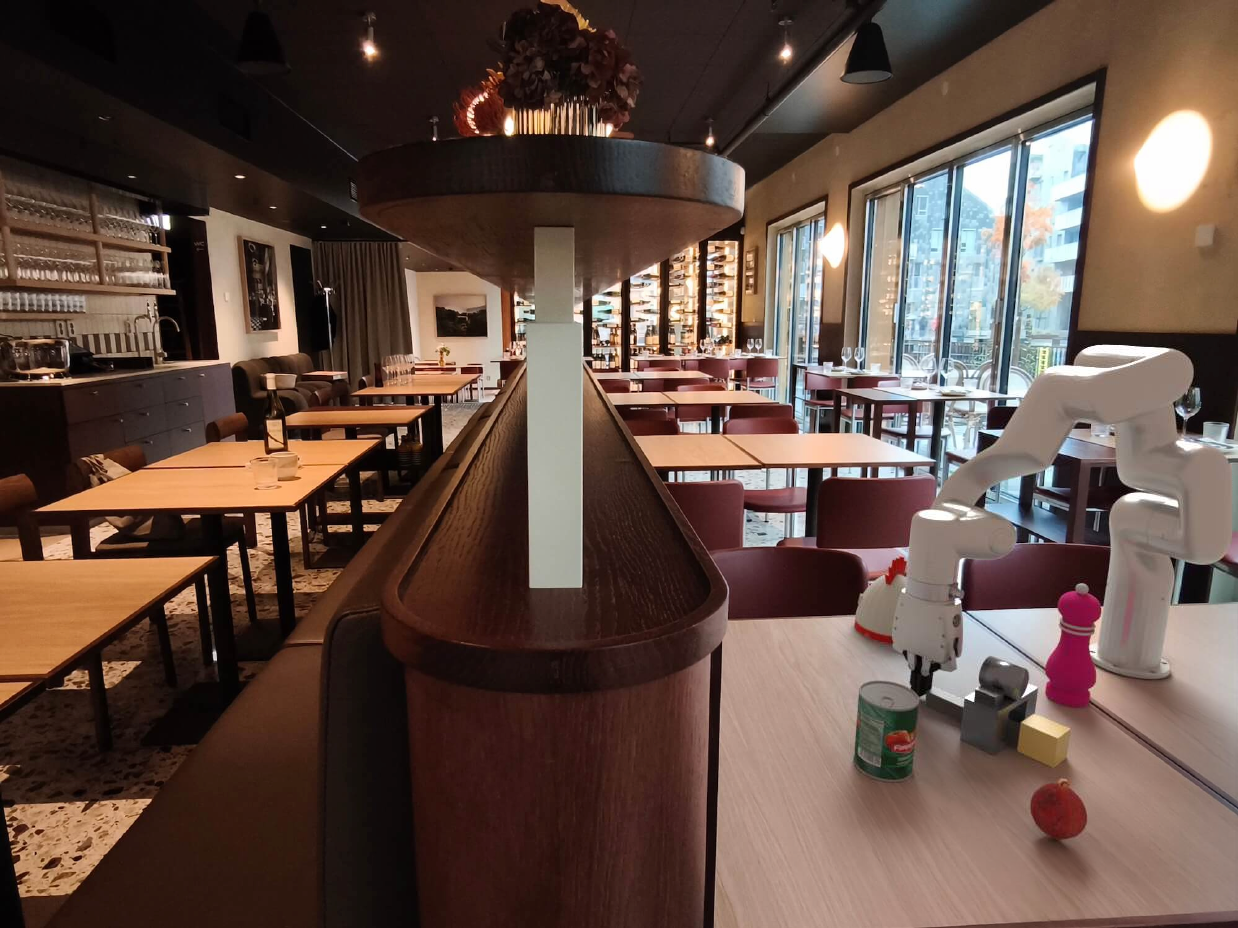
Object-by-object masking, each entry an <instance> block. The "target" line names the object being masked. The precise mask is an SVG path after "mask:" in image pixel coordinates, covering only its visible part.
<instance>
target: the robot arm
mask: <svg viewBox="0 0 1238 928" xmlns="http://www.w3.org/2000/svg"><path fill="white" fill-rule="evenodd" d="M1074 358H1075V359H1074V361H1073V365H1056V366H1050V367H1047V368H1046V369H1043V370H1042V371H1040V373H1039V374H1038V375H1037V376H1036V377H1035V378H1034V380H1033V381H1032V383H1031V384H1030V387H1029V388H1028V390H1027V391H1026V393H1025V395H1024V396H1023V398H1022V399H1021V401H1020V403H1019V405H1018V407H1017V408H1016V409H1015V411H1014V413H1013V414H1012V416H1011V418H1010V420H1009V421H1008V423H1007V425H1006V426H1005V428H1004V429H1003V431H1002V432H1001V435H1000V436H999V438H998V439H997V440H996V441H995V442H994V443H993V444H992V445H991V446H989V447H987V448H986V449H984V450H983V451H980V452H979V453H977V454H975V456H973V457H971V458H970V459H968V460H967V461H966V462H965V463H963V464H962V465H961V466H959V467H958V468H956V469H955V470H954V471H953V472H952V473H951V475H950V476H949V477H948V478H947V479H946V481H945V482H944V484H943V485H942V487H941V488H940V491H939V492H938V494H937V495H936V497H935V499H934V500H933V502H932V505H931V506H930V509H922V510H919V511H917V512H915V513H914V515H913V516H912V518H911V523H910V535H909V544H908V545H909V546H908V554H907V555H908V556H907V564H906V576H905V577H906V585H905V588H904V589H902V591H901V594H900V597H899V600H898V603H897V607H896V611H895V616H894V622H893V629H892V640H893V644H892V648H893V649H894V650H895V651H897V652H898V653H900V655H901V654H902V656H903V657H904V659H905V661H906V662H907V668H908V669H909V671H910V677H909V685H910V689H911V690H913V691H914V692H915V693H916V694H917V695H918V697H919V698H921V697H924V696H926V691H927V690H929V689H931V688H933V681H934V679H933V678H934V673H936V672H937V671H942V672H948V673H952V672H954V671H956V670H957V668H958V666H957V659H959V658H961V656H962V652H963V644H964V618H963V617H964V616H963V607H962V601H961V600H962V599H963V598H964V597H965V591H964V590H963V589H960V588H959V582H958V579H959V571H960V561H961V560H962V559H969V560H977V561H994V560H998V559H1001V558H1003V557H1005V556H1007V555H1008V554H1010V553H1011V552H1012V551H1013V549H1014V547H1015V546H1016V544H1017V540H1018V534H1017V531H1016V527H1015V526H1014V525H1013V523H1012V522H1011V521H1010V520H1009V519H1007V517H1005V516H1002V515H1000V514H998V513H995V512H993V511H989V510H988V509H983V508H982V507H978V506H975V504H976V503H977V501H978V500H979V499H980V498H981V497H982V496H983V494H985V493H986V492H987V491H988V490H990V489H991V488H992V487H995V486H996V485H998V484H999V483H1002V482H1005V481H1009V480H1012V479H1016V478H1020V477H1025V476H1029V475H1034V474H1037V473H1040V472H1044V471H1047V469H1049V468H1050V467H1051V466H1052V464H1053V463H1054V460H1055V459H1056V458H1057V456H1058V454H1059V452H1060V451H1061V449H1062V448H1063V446H1064V445H1065V443H1066V441H1067V439H1068V438H1069V436H1070V434H1071V433H1072V431H1073V430H1074V429H1075V426H1076V425H1077V424H1078V423H1085V424H1093V425H1097V426H1111V425H1113V429H1114V445H1115V446H1114V447H1115V463H1116V470H1117V475H1118V478H1119V480H1120V481H1121V483H1122V484H1124V485H1125V486H1127V487H1129V488H1132V489H1136V490H1139V491H1142V492H1131V493H1127V494H1125V495H1122V496H1121V497H1120V498H1118V499H1117V500H1116V501H1115V503H1113V504H1112V507H1111V509H1110V512H1109V519H1108V520H1109V521H1108V525H1109V536H1110V556H1109V558H1110V559H1109V567H1108V574H1107V580H1106V587H1105V594H1104V600H1103V609H1102V612H1101V620H1100V622H1101V623H1100V628H1099V629H1100V630H1099V635H1098V642H1096V643H1092V644H1090V645H1089V649H1090V655H1091V658H1092V661H1093V664H1094V665H1096V666H1098V667H1100V668H1102V669H1104V670H1106V671H1109V672H1112V673H1115V674H1117V675H1121V676H1125V677H1129V678H1135V679H1140V680H1141V679H1142V680H1143V679H1144V680H1158V679H1159V680H1161V679H1165V678H1166V677H1168V676H1169V675H1170V673H1171V670H1172V667H1171V664H1170V663H1169V661H1167V660H1166V659H1165V658H1163V657H1162V656H1163V650H1164V646H1165V645H1164V643H1165V637H1166V631H1167V626H1168V619H1169V613H1170V607H1171V602H1172V596H1173V591H1174V585H1175V584H1174V583H1175V569H1174V567H1173V563H1172V560H1171V558H1174V559H1177V560H1180V561H1184V562H1185V563H1186V562H1187V563H1191V564H1194V565H1203V566H1204V565H1205V566H1206V565H1211V564H1214V563H1217V562H1218V561H1220V560H1221V559H1223V558H1224V556H1225V555H1226V554H1227V552H1228V550H1229V548H1230V546H1231V543H1232V537H1233V527H1234V526H1233V523H1234V521H1233V519H1234V518H1233V514H1234V513H1233V509H1234V508H1233V472H1232V467H1231V464H1230V462H1229V460H1228V458H1227V457H1226V455H1225V454H1224V453H1223V452H1222V451H1221V450H1219V449H1218V448H1216V447H1213V446H1211V445H1207V444H1205V443H1199V442H1193V441H1192V442H1191V441H1189V440H1182V439H1181V438H1180V437H1179V434H1178V430H1177V422H1176V421H1177V420H1176V413H1175V406H1174V403H1175V402H1176V401H1177V400H1179V399H1180V398H1182V397H1183V396H1184V394H1185V393H1187V391H1189V388H1190V387H1191V385H1192V383H1193V378H1194V372H1195V371H1194V365H1193V363H1192V361H1191V359H1190V358H1189V357H1188V355H1186V354H1185V353H1183V352H1182V351H1179V350H1178V349H1177V350H1176V349H1174V348H1166V347H1149V346H1146V347H1145V346H1133V345H1132V346H1131V345H1120V344H1119V345H1116V344H1115V345H1113V344H1111V345H1110V344H1102V345H1100V344H1099V345H1094V346H1089V347H1087V348H1084V349H1082V350H1081V351H1080V352H1079V353H1078V354H1077V355H1076V356H1075V357H1074Z"/></svg>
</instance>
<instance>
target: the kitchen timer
mask: <svg viewBox="0 0 1238 928" xmlns="http://www.w3.org/2000/svg"><path fill="white" fill-rule="evenodd" d="M907 564H908V560H905V556H904V557H903V556H899V557H898V558H897V557H895V559H892V560H891V566H888V567H887V568H888V569H887V570H888V573H885V574H883V575H880V576H879V577H878V578H877V579H875V580H874V581H873V582H872V583H870V585H869V586H868V587H867V588H866V589H865V591H863V593H860V594H859V597H858V601H857V604H858V606H857V609H856V612H855V616H854V617H855V620H854V628H855V630H856V631H857V632H858V634H859V633H860V635H862V636H864V637H866V638H868V639H871V640H873V641H876V642H879V643H883V642H884V643H883V644H888V645H889V644H890V645H893V640H892V629H893V622H894V616H895V611H896V607H897V603H898V600H899V597H900V594H901V591H902V589H904V588H905V585H906V576H905V572H906V569H907Z"/></svg>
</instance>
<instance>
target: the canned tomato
mask: <svg viewBox="0 0 1238 928" xmlns="http://www.w3.org/2000/svg"><path fill="white" fill-rule="evenodd" d="M857 699H858V700H857V713H856V726H855V727H856V728H855V737H854V739H855V740H854V754H853V763H854V765H855V767H856V769H858V771H859V772H861V773H862V774H863V775H865V776H867V777H868V778H871V779H874V780H876V781H880V782H884V783H900V782H904V781H907V780H909V779H910V778H911V776H912V775H913V773H914V769H913V767H914V760H915V759H914V758H915V749H916V740H917V739H916V738H917V727H918V726H917V725H918V719H919V718H918V715H919V705H920V697H918V695H917V694H916V693H915V692H914V691H913V690H911V687H908V686H906V685H904V684H900V683H897V682H895V681H890V680H889V681H888V680H880V679H879V680H869V681H866V682H863V683H862V684H860V686H859V688H858V698H857Z"/></svg>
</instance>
